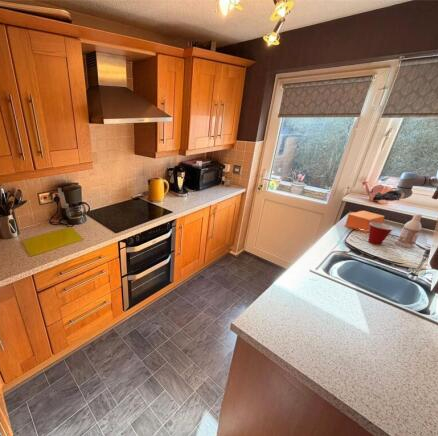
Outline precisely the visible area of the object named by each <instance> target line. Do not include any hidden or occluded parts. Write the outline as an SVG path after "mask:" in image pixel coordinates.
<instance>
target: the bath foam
mask: <svg viewBox="0 0 438 436" xmlns="http://www.w3.org/2000/svg"><path fill="white" fill-rule="evenodd" d="M422 217H423V214H420V213H414V214H413V216H412V218H411V220H409V221H407V222H406V223H405V224H404V225H403V227H402V229H401V232H400V234H399V237H398V239H397V241H396V244H397V245H398V246H400V247H402V248H408V249H409V248H410V249H412V248H413V247H415V244H416V242H417V240H418V238H419V235H420V234H421V231H422V228H423V227H422V223H421V219H422Z"/></svg>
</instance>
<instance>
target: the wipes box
mask: <svg viewBox="0 0 438 436" xmlns="http://www.w3.org/2000/svg"><path fill="white" fill-rule="evenodd" d="M384 219H385V217H383V218H379V219H375V220H370V221H368V220H365V219H361V218H358V217H354V216H351V215H347V218H346V222H345V225H344V227H348V228H350V229H354V230H357V231H359V232H363V233H369V232H370V223H380V224H383V223H384ZM357 228H360V229H364V230H369V231H364V230H360V229H357Z"/></svg>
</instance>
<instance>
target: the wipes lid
mask: <svg viewBox="0 0 438 436" xmlns="http://www.w3.org/2000/svg"><path fill="white" fill-rule="evenodd" d="M349 215H351V216H354V217H358V218H361V219H365V220H368V221H370V220H375V219H379V218H383V217H384V218H385V216H386V215H382V214H378V213H375V212H370V211H367V210H358V211H355V212H350V213H347V216H349Z"/></svg>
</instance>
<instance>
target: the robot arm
mask: <svg viewBox="0 0 438 436" xmlns="http://www.w3.org/2000/svg"><path fill="white" fill-rule="evenodd" d="M437 185H438V170H437V172H436V174H434V175H422V174H421V175H420V174H419V173H418V172H414V171H404V172H403V173H401V176H400V177H399V181H398V184H397V186H396V188H395V189H391V190H388V191H386V192H383V193H382V192H377V193H375V195H374V196H373V197H372V201H373V202H377V201H386V202H388V201H389V202H392V201H393V202H394V201H400V200H403V199H404V200H405V199H408V198H410V197H412V195H413V190H412V189H413V187H426V188H427V187H428V188H429V187H430V188H438V187H437Z"/></svg>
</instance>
